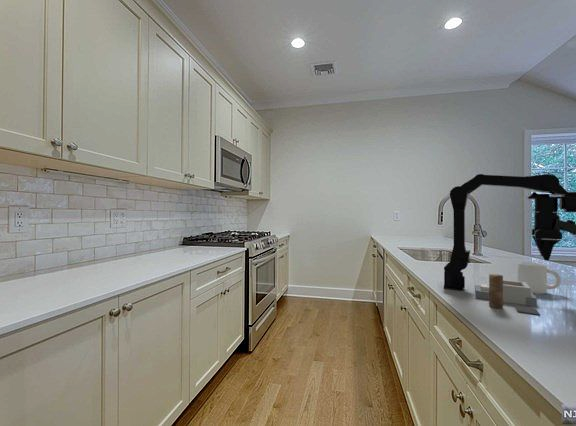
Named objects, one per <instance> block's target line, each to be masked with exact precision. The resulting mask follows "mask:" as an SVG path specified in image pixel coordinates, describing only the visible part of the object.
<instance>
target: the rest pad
mask: <svg viewBox="0 0 576 426" xmlns="http://www.w3.org/2000/svg"><path fill="white" fill-rule="evenodd" d="M514 308H515V310H516V312H517V313H520V314H527V315H533V316H534V315H535V316H539V317H540V316H541V313H540V312H539V311H538V309H536V308H532V307H523V306H518V305H517V306H516V305H515V306H514Z"/></svg>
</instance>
